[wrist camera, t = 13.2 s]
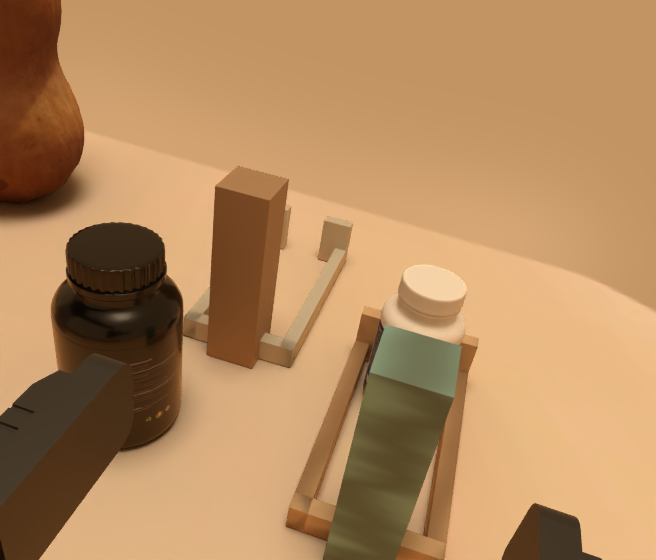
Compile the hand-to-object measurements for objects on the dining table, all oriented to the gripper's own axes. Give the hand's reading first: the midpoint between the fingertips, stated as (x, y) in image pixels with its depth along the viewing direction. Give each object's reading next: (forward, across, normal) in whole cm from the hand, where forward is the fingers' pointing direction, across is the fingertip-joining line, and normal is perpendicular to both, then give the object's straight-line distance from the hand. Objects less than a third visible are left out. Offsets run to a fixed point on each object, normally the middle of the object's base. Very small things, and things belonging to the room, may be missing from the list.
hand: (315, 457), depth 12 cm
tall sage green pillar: (+19, -2, +20) cm, 28 cm away
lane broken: (+31, +10, +21) cm, 39 cm away
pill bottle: (+24, -2, +20) cm, 31 cm away
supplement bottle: (+15, +14, +20) cm, 29 cm away
